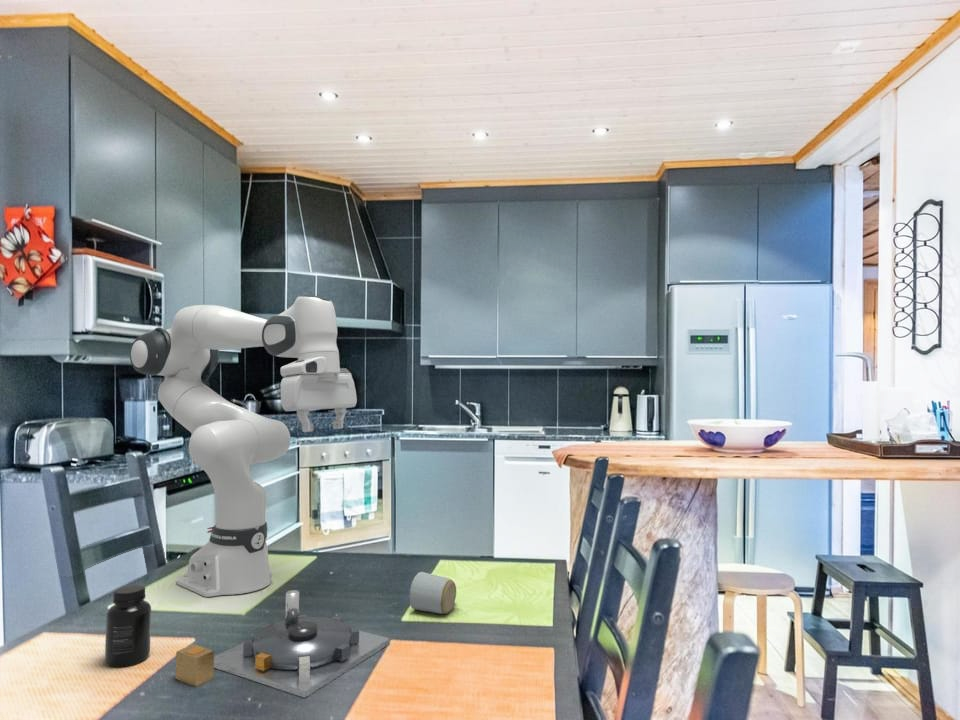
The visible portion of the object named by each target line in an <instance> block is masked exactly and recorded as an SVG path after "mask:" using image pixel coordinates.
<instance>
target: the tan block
mask: <svg viewBox="0 0 960 720" xmlns="http://www.w3.org/2000/svg"><path fill="white" fill-rule="evenodd" d="M175 653H176V654H175V680H176V679H177V681H179V680H180V682H183V683H186V684H187V685H190V686H194V687H196V688H197V687H199V686H201V685H202V684H204V683H207V682H209V681H211V680H212V679H214V669H215V668H214V656H215V650H214V649H210V648H207V647H204V646H200V645H198V644H194V643H193V644H190V645H188V646H186V647H183V648H181V649H178V650H177V651H176V652H175Z"/></svg>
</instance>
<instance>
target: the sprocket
mask: <svg viewBox="0 0 960 720" xmlns="http://www.w3.org/2000/svg"><path fill="white" fill-rule="evenodd" d="M284 611H285V612H284V613H285V614H284V616H285V617H284V619H285V620H281V621H277V622H275V623H270V622H265V623H263V624H262V625H259V626H258V631H257V632H256V633H255V635H253V637H252V638H247V639H246V638H245V639H244V640H243V643H244V644H243V656H249V655H252V658H253V659H254V660H255V668H256V669H259V670H262V671H265V670H267V669H269V668H275V669H297V673H299V657H306V656H310V668H311V667H315V666H319V665H323V664H326V663H329V662H331V661H334V660H339V661H343V660H345V659H347V658H348V657H350V647H351V644H352V643H359V631H360V630H359V626H357V627H351V626H349V624H347V623H346V622H344V620H345V619H344V617H341V616H336V615H335V616H332V617H325V616H322V617H321V616H308V615H307V614H300V615H299V613H300V591H299V590H298V589H294V590H291V589H290V590H287V591H286V592H285V610H284Z"/></svg>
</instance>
